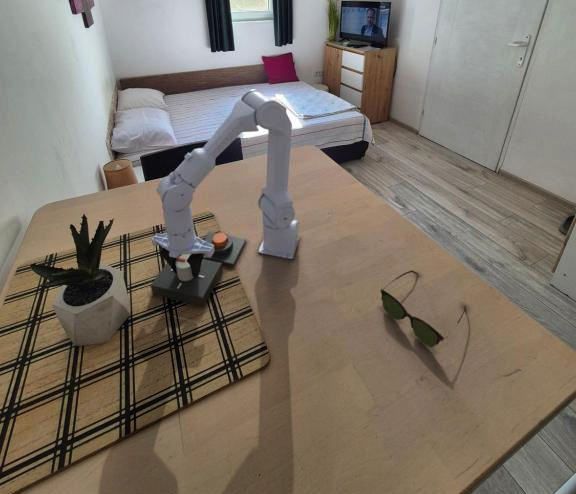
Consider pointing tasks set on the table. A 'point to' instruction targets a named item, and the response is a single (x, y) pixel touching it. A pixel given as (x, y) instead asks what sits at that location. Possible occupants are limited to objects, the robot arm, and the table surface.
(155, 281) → the dial panel
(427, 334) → the sunglasses
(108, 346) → the table surface
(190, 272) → the timer dial
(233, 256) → the button block
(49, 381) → the table surface
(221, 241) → the button
